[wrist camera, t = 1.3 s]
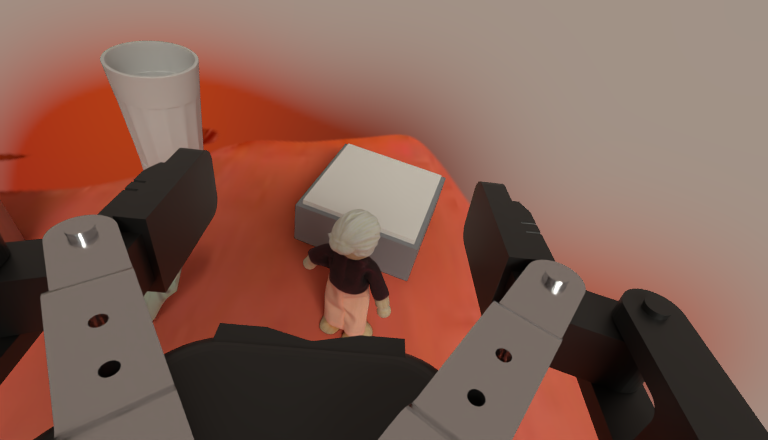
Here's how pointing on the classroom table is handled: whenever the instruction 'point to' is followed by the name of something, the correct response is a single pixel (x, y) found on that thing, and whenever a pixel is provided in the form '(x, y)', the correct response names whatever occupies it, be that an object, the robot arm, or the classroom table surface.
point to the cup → (157, 96)
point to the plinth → (372, 204)
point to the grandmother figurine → (351, 274)
